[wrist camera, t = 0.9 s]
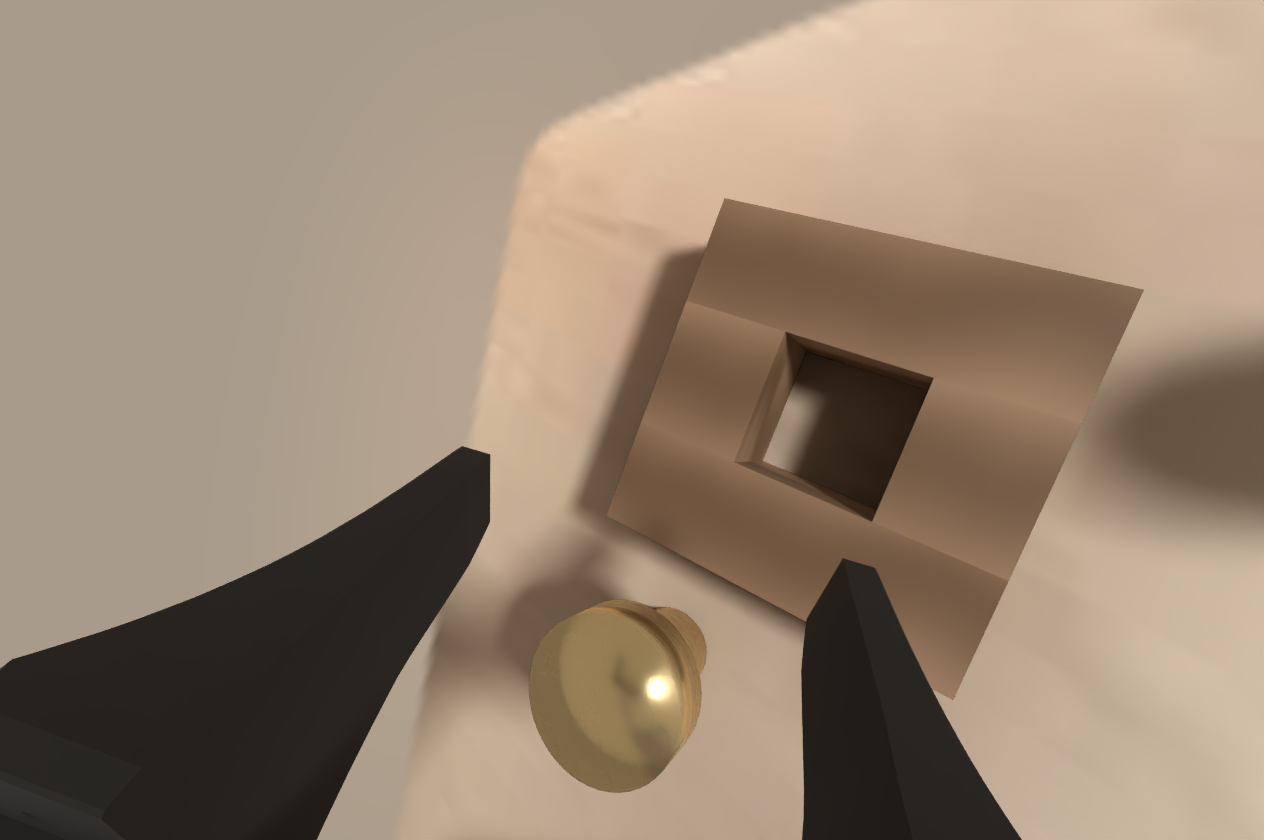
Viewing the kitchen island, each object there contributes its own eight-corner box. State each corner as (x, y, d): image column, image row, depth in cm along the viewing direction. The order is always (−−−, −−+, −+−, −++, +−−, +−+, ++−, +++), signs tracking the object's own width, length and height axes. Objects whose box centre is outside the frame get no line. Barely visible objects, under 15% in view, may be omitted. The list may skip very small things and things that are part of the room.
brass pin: (704, 745, 23) (641, 831, 18) (593, 669, 26) (508, 725, 20) (756, 620, 23) (706, 671, 17) (637, 555, 25) (561, 582, 20)
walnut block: (946, 655, 20) (953, 700, 16) (651, 506, 25) (606, 515, 21) (1100, 321, 19) (1143, 289, 15) (753, 237, 24) (724, 198, 20)
